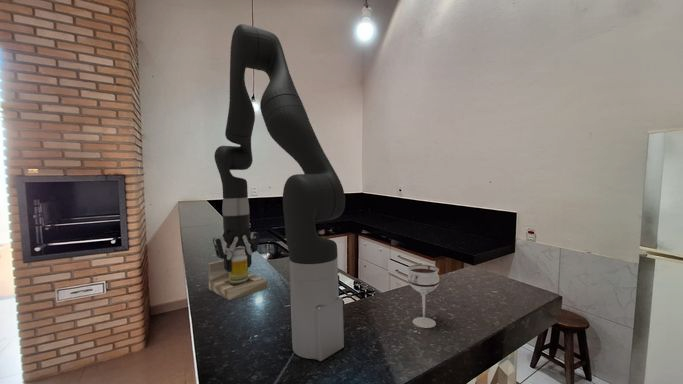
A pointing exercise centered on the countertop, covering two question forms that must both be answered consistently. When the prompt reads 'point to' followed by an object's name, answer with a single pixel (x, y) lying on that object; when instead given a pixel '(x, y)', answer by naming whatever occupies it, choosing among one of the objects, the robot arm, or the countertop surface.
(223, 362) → the countertop surface
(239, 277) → the supplement bottle
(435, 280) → the wineglass
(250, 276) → the socket stand
